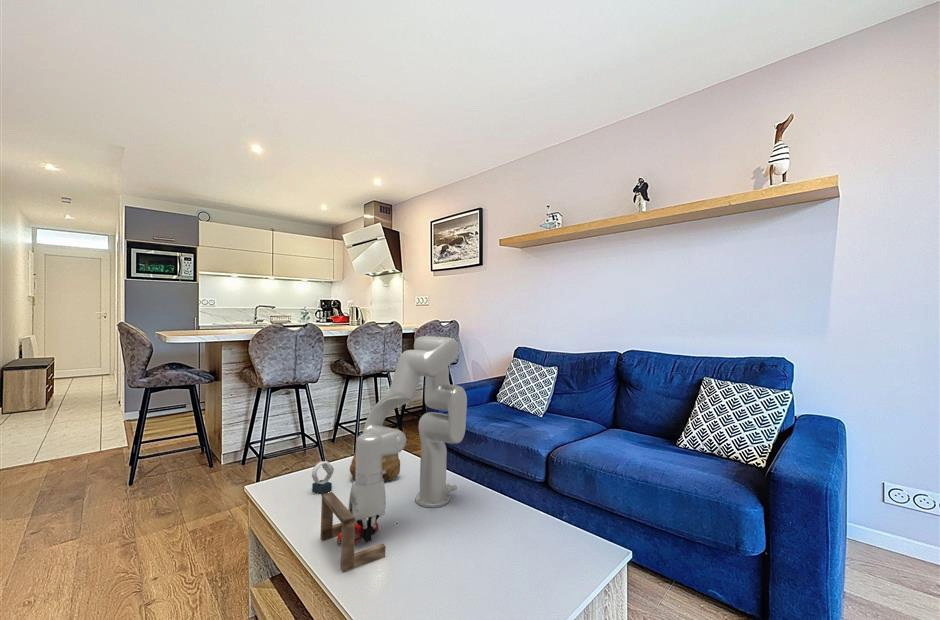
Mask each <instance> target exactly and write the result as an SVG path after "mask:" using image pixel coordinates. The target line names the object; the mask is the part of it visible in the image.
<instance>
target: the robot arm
mask: <svg viewBox="0 0 940 620" xmlns="http://www.w3.org/2000/svg"><path fill="white" fill-rule="evenodd" d="M413 348H414V349H407V350H405V351H403V352H402V353H401V355H400V356H399V359H398V363H397V366H396V369H395V371H394V375H393V377H392V381H391V384H390V387H389V390H388V392H387V393H386V394H385V395H384V396H383V397H381V398H380V400H379V401H378V402H377V403H375V404H374V406H373V407H372V408H371V410H370V412H369V413H368V416H367V418H366V421H365V424H364V427H363V430H362V433H361V434H360V435H358V436H357V437H358V438H357V437H356V438H357V443H356V442H355V450H356V477H355V479H354V481H352V483H351V486H350V491H349V497H348V507H347V509H348V510H349V511H350V512H351V514H352V515H353V516H354V517H355V524H358V525H360V526H361V537H362V540H363V541H364V542H365V543H368V542H372V538H373V537H372V536H373V535H374V534H373V526H374V525H375V522H376V521H377V522H378V519H379V518H381V517H383V516H385V515H386V509H387V507H386V506H387V502H386V501H387V500H386V499H387V495H386V487H385V482H384V480H383V478H382V475H383V474H386V470H385V469H382V457H384V456H389V455H394V454H397V453H398V454H399V453H401V452H402V451H403V450H404V448H405V447H406V445H407V436H406V434H405V433H404V432H403V431H401V430H400V429H398V428H392V427H390V426H389V427H388V426H384V425H383V424H384V422H385V420H386V417H387V416H388V415H389V414H390V413H391V412H392V411H393V410H395V409H396V408H398V407H401V406H403V405H406V404H408V403H410V402H412V401H414V399H415V396H416V393H417V390H418V387H419V383H420V379H421V377H425V382H424V383H425V386H424V404H425V405H426V407H428V408H430V409H432V410H433V409H434V410H437V411H438V410H439V411H444V412H447V413H448V414H447V413H442V412H436V411H435V412H434V411H433V412H432V411H429V412H428V411H427V412H426V413H424V414H423V415H422V416H421V417H420V418H419V421H418V433H419V439H420V463H419V464H420V466H419V467H420V469H419V470H420V471H419V492H418V493H416V494H415V496H414V502H416V504H417V505H418V506H419V505H420V506H421V507H425V508H439V507H442V506H445V505H447V504H448V503H449V502H450V500H451V499H450V498H451V497H450V493H451V492H454V491H456V490H457V489H458V486H457V485H456V484H452V485H451V484H450V483H447V459H448V458H447V456H448V455H447V454H448V452H447V451H448V449H447V446H446V443H447V444H452V445H455V444H459V443H461V442H462V441H463V439H464V437H465V433H466V427H467V426H466V424H467V407H468V398H467V397H468V396H467V393H466V391H465V388H464V387H462V386H460V385H456V384H450V382H449V381H450V376H449V375H450V369H449V366H450V365H451V364H452V363H453V362H454V361H455V360H456V358H457V357H458V355H459V351H460V350H459V349H460V347H459V343H458V341H457V340H456V339H455V338H453V337H447V336H429V335H423V336H422V335H421V336H418V337H416V339H414V344H413ZM366 519H368V521H367V520H366Z"/></svg>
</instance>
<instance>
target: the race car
mask: <svg viewBox="0 0 940 620" xmlns="http://www.w3.org/2000/svg"><path fill="white" fill-rule="evenodd" d="M366 520H367V521H368V518H366ZM378 531H379V523H378V520H377V521H376V522H375V525H374V526H373V535H375V533H377V532H378ZM341 533H342V532H341ZM341 533H340V534H339V535H338V537H336V543H337V544H338V545H339V546H341ZM361 540H363V539H362V537H361V526H360V525H358V524H355V539H354V544H355V543H357V542H360V541H361Z"/></svg>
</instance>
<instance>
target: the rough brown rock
mask: <svg viewBox="0 0 940 620" xmlns="http://www.w3.org/2000/svg"><path fill="white" fill-rule="evenodd" d="M357 438H358V436H356V440H355V441H356V442H355V444H356V443H357ZM382 469H385V470H386V474H383V475H382V478H383V480H384V483H386V481H391V480H393V479H395V478H396V477H397V476H399V474H400V472H401V460H400V458H399V453H397V454H394V455H389V456H384V457H382ZM349 472H350V474H351V478H352V479H353V480H355V477H356V449H355V451H354V454H353V458H352V460H351V463H350V465H349Z"/></svg>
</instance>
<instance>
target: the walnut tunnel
mask: <svg viewBox="0 0 940 620" xmlns="http://www.w3.org/2000/svg"><path fill="white" fill-rule="evenodd" d="M334 516H336V518H337V519H338V520H339V521H340V523H337V524H336V523H335V524H334V523H333V521H334ZM341 532H342V533H341ZM340 533H341V545H340V567H339V570H340V572H341V573H344V572H347V571H350V570H352V569H356V568H359V567H361V566H364V565H367V564H370V563H373V562H375V561H378V560H380V559H381V560H382V559H384V558H385V557H386V548H387V547H386V545H385V543H381V544H378V545H375V546H372V547H369V548H368V547H367V548H366V549H364V550H359V551H357V552H355V543H354V539H355V517H354V516H353V515H352V514H351V512H350V511H349V510H348V507H346V506H345V504H344V503H343V502H342V501H341V500H340V499H339V498H338V496H336V494H335V493H334V492H333V491H331V492H329V493H324V494H322V495H321V515H320V538H319V539H320V541H321V542H324V541H327V540H331V539H334V538H337V537H338V535H339V534H340Z"/></svg>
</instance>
